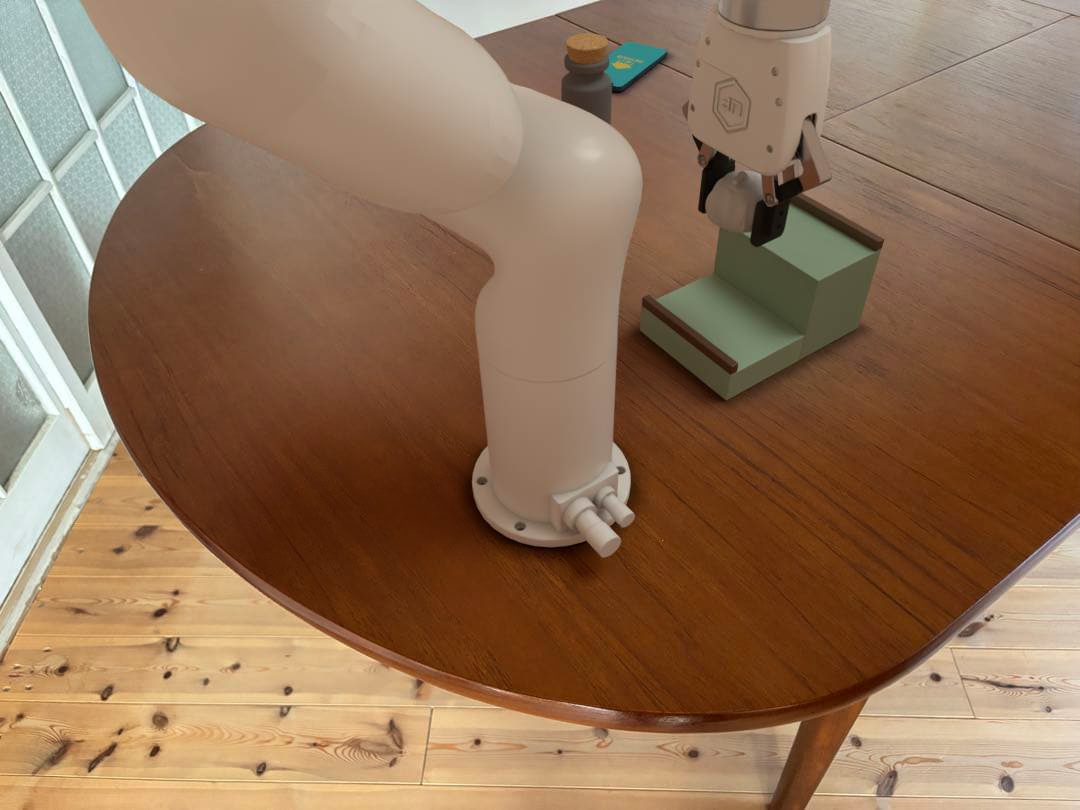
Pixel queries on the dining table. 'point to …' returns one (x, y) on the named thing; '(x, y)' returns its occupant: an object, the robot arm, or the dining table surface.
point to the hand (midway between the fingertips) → (739, 221)
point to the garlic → (735, 201)
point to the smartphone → (632, 63)
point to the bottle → (588, 75)
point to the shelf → (768, 299)
